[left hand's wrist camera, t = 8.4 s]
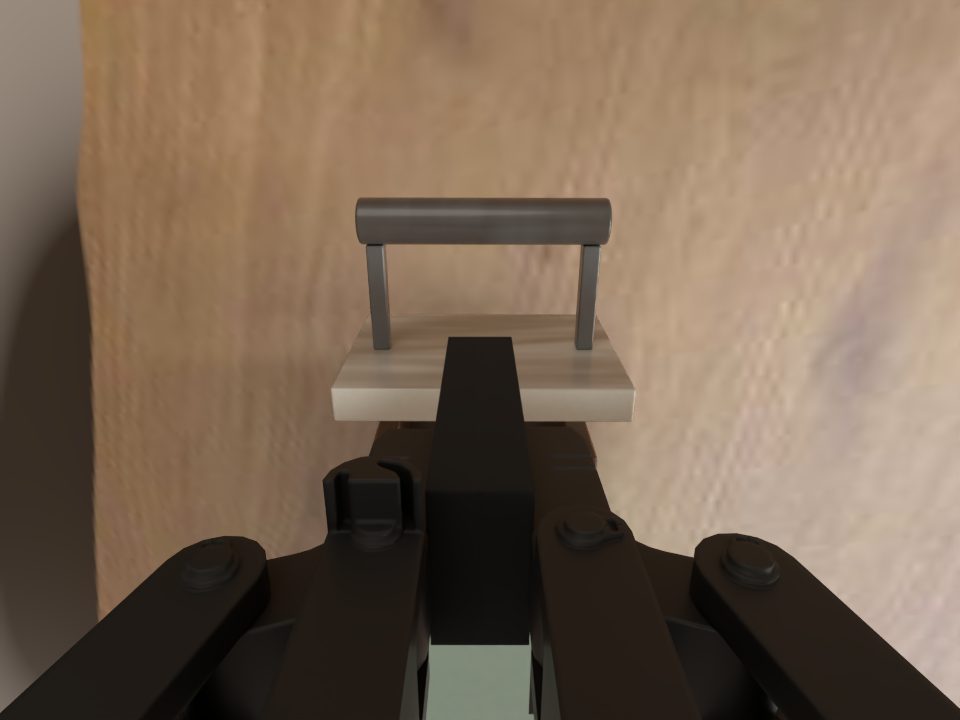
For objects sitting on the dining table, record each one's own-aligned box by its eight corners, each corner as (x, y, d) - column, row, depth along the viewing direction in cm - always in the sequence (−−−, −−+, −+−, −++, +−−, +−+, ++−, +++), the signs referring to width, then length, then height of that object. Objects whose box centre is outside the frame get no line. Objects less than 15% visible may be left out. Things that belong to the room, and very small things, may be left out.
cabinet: (372, 474, 30) (330, 621, 22) (591, 474, 30) (634, 621, 22) (395, 754, 39) (372, 937, 30) (566, 754, 39) (589, 938, 30)
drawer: (358, 183, 24) (310, 217, 17) (608, 183, 24) (657, 218, 17) (394, 653, 34) (373, 788, 27) (568, 654, 34) (589, 789, 27)
